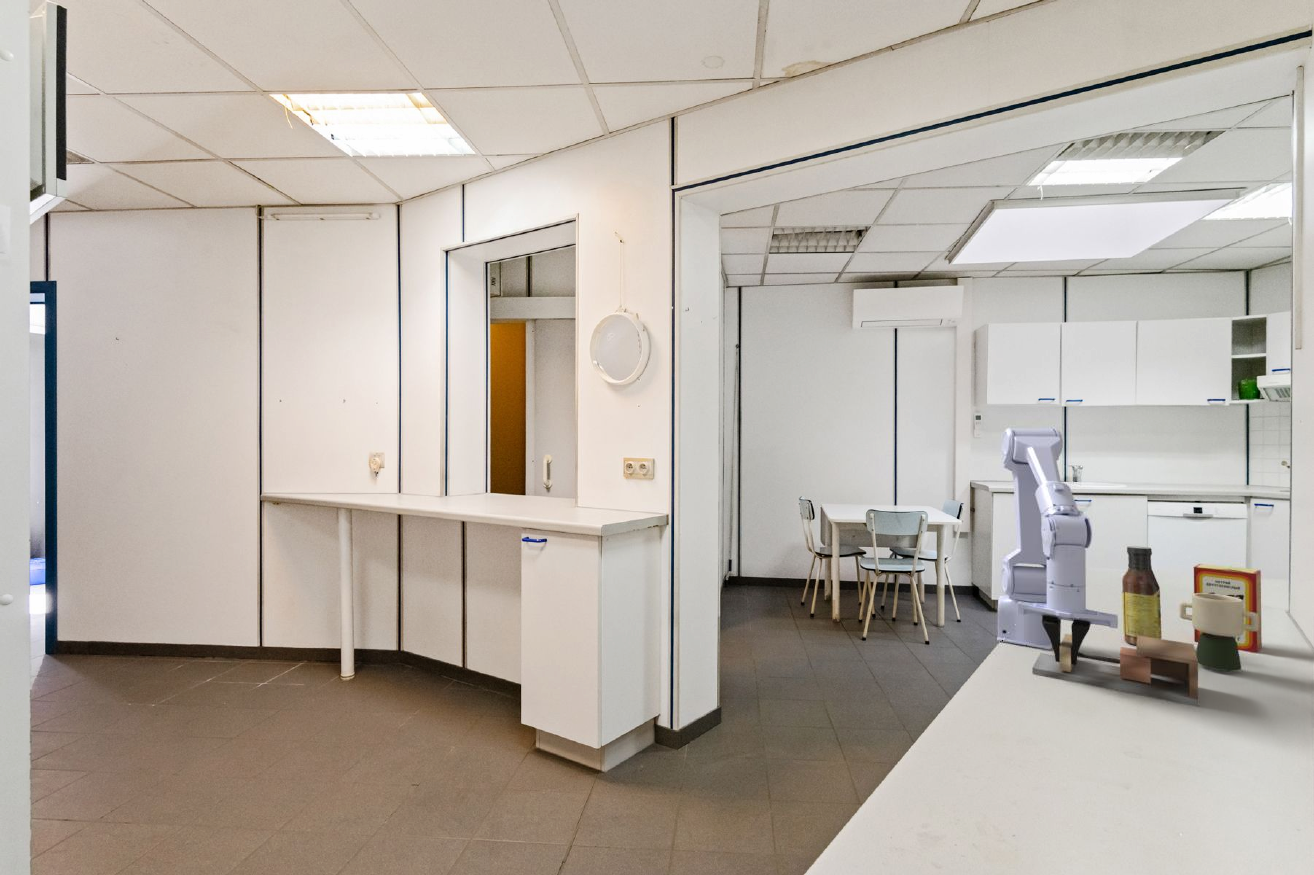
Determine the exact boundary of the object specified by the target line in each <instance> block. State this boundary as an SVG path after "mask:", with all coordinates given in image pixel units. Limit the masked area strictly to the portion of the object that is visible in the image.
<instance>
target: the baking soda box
mask: <svg viewBox="0 0 1314 875" xmlns="http://www.w3.org/2000/svg"><path fill="white" fill-rule="evenodd" d="M1261 574H1262V571H1261V570H1260V569H1253V568H1244V567H1239V566H1232V565H1231V566H1225V565H1222V566H1221V565H1214V564H1205V563H1198V564H1196V565H1195V566H1193V594H1195V593H1206V594H1218V595H1225V596H1230V597H1235V598H1239V599H1241V600H1243V604H1244V611H1247V612H1254V613H1256V614H1257V615H1258V628H1259V629H1258V631H1248V630H1244V632H1243V634H1242V635H1241V636H1236V637H1233V638H1234V639H1235V640H1236V642H1237V646H1238V651H1243V652H1247V653H1253V654H1258V653H1259V651H1260V650H1261V649H1262V648H1263V646H1262V644H1263V643H1262V638H1263V637H1262V587H1261V586H1262V583H1261V582H1262V575H1261ZM1244 624H1245V625H1251V618H1250V617H1244ZM1193 629H1194V628H1193ZM1201 633H1203V632H1201V631H1198V630H1196V629H1194V634H1193V636H1194V638H1193V639H1194V641H1195V642H1194V643H1198V640H1199V636H1200V634H1201Z"/></svg>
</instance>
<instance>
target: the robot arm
mask: <svg viewBox="0 0 1314 875" xmlns="http://www.w3.org/2000/svg"><path fill="white" fill-rule="evenodd" d="M1063 444H1064V443H1063V434H1062V433H1061V431H1060V430H1059V429H1058V427H1057V428H1056V427H1052V428H1012V427H1007V428H1006V429H1005V430H1004V432H1003V433H1002V439H1001V457H1002V458H1001V459H1002V464H1003V468H1004V469H1007V470H1009V471H1011V475H1012V480H1013V494H1014V495H1013V496H1014V513H1015V515H1014V520H1015V539H1016V549H1015V550H1013V551H1012V552H1010V553H1008V554H1007V555H1006V556H1004V557H1003V559H1002V561H1001V563H1002V564H1001V573H1000V582H1001V588H1002V590H1003V593H1004V594H1005V595H1002V594H1001V595H999V598H998V602H997V638H996V640H997V641H999V642H1004V643H1011V644H1016V645H1021V646H1022V645H1023V646H1026V645H1027V646H1028V647H1033V648H1037V649H1038V648H1039V649H1043V650H1053V655H1055V661H1056V662H1060V644H1061V642H1062V640H1061V631H1062V630H1061V629H1062V628H1061V627H1062V626H1061V625H1062V624H1061V623H1062V620H1063V621H1069V622H1072V623H1071V626H1070V627H1071V629H1070V630H1071V635H1072V653H1071V665H1076V664H1077V659H1078V658H1079V657H1078V652H1080V648H1081V646H1082V644H1083V642H1084V639H1085V638H1086V636H1087V634H1088V632H1089V631H1090V627H1091V625H1096V626H1103V627H1109V628H1110V629H1118V627H1119V615H1118V614H1114V613H1108V612H1103V611H1097V610H1094V609H1093V610H1092V609H1087V608H1086V607H1087V606H1086V605H1087V602H1086V601H1087V600H1086V599H1087V596H1086V595H1087V593H1086V592H1087V591H1086V589H1087V588H1086V586H1087V585H1086V581H1087V580H1086V576H1087V574H1086V572H1087V571H1086V570H1087V569H1086V557H1087V556H1086V551H1087V550H1086V549H1088V548H1089V547H1090V546H1091V545H1092V540H1093V539H1092V538H1093V529H1092V524H1091V522H1090V518H1089V517H1088V515H1087V514H1084V511H1083V510H1079V509H1078V506H1077V504H1076V501H1075V498H1074V495H1073V492H1072V490H1071V488H1070V486H1069V485H1068V484H1067V483H1065V482H1062V479H1061V476H1060V471H1059V467H1058V462H1057V461H1058V460H1059V458H1060V456H1061V454H1062V452H1063ZM1018 564H1025V565H1018ZM1026 564H1027V565H1028V566H1026ZM1029 564H1030V565H1031V566H1029ZM1032 565H1040V566H1032ZM1015 624H1016V625H1015ZM1008 632H1009V633H1008ZM1004 637H1005V639H1004V640H1003V638H1004ZM1002 640H1003V641H1002Z"/></svg>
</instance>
